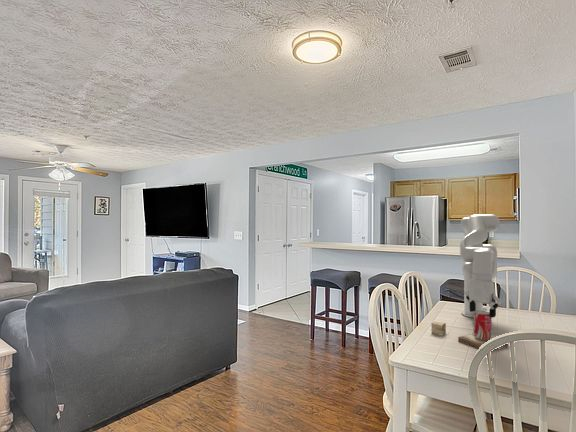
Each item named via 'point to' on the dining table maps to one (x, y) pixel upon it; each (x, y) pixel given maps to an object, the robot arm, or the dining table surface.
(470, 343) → the walnut tray
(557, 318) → the dining table surface
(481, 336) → the soda can
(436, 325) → the oak block
